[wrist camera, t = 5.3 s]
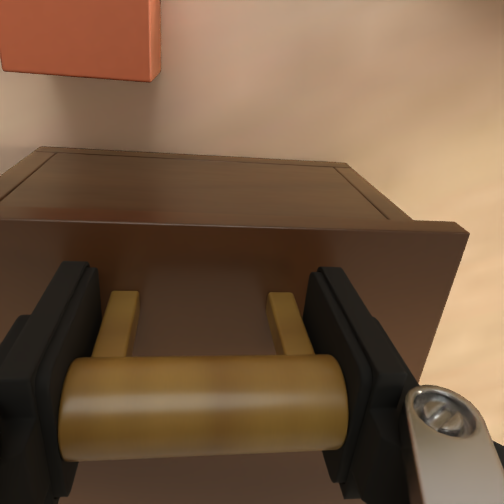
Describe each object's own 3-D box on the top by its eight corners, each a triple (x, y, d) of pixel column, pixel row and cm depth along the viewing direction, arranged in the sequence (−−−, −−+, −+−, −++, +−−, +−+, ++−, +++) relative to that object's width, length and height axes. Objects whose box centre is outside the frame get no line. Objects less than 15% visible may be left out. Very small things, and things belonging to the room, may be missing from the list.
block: (30, -76, 15) (-28, -115, 11) (159, -59, 16) (148, -91, 12) (46, 63, 17) (1, 71, 13) (161, 72, 18) (151, 83, 14)
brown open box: (40, 146, 19) (-74, 227, 11) (346, 162, 21) (440, 241, 13) (76, 425, 26) (25, 596, 18) (299, 418, 28) (341, 569, 20)
